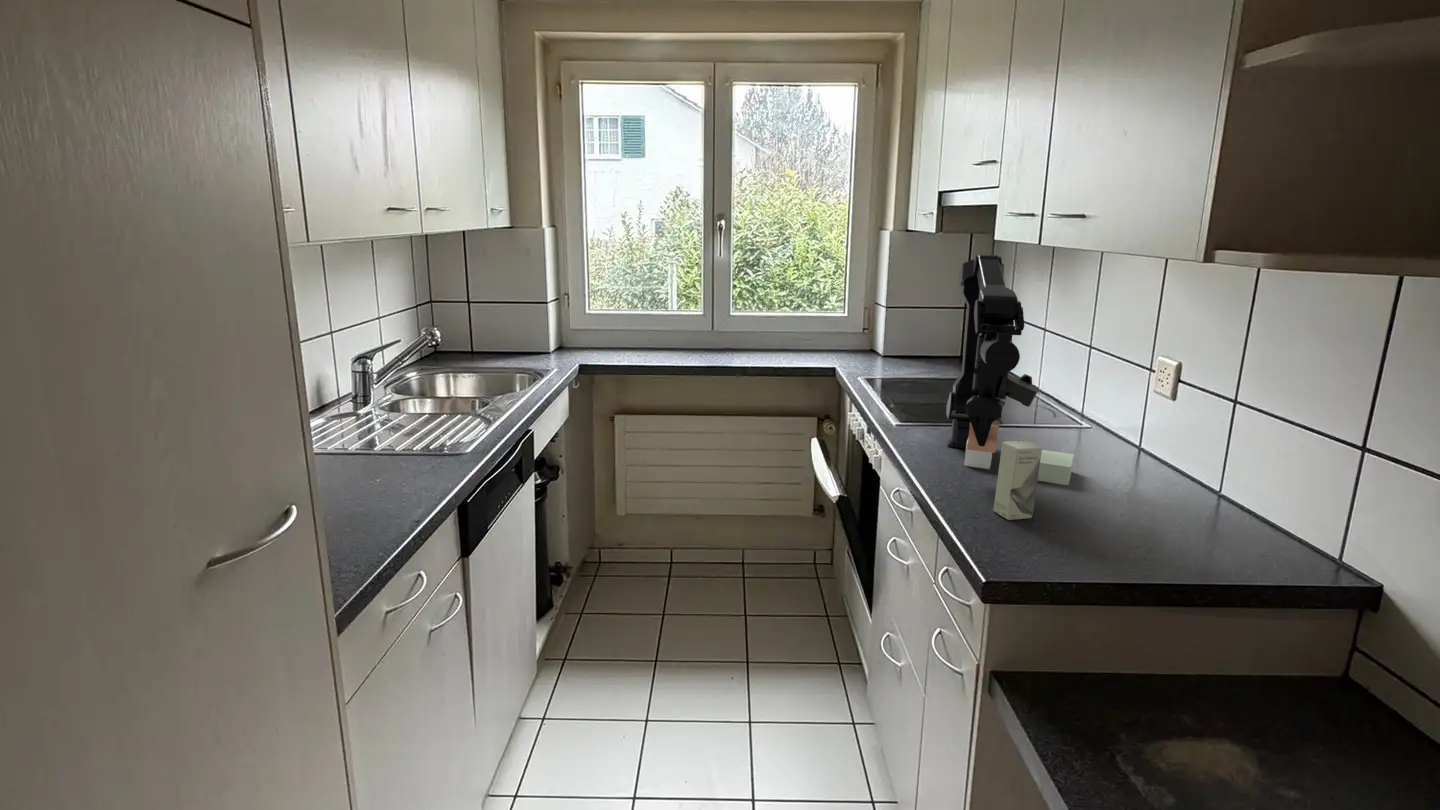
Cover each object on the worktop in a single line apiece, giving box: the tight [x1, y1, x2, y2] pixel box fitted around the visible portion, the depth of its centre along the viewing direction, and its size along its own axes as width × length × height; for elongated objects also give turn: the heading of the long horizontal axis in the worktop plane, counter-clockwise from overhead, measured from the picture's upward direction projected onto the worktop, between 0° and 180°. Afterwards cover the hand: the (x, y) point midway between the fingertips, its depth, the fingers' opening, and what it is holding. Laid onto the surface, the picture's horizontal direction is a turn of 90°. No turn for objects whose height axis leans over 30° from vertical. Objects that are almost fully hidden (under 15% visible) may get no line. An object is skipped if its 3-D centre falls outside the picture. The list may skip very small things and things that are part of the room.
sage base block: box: [1037, 449, 1075, 486], centre depth 154 cm, size 9×9×4 cm
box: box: [992, 440, 1043, 521], centre depth 132 cm, size 5×4×13 cm
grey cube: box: [963, 437, 993, 470], centre depth 159 cm, size 5×5×5 cm
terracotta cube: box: [967, 419, 1001, 454], centre depth 147 cm, size 5×5×5 cm
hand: (982, 442), depth 148 cm, fingers closed on terracotta cube, 5 cm apart
